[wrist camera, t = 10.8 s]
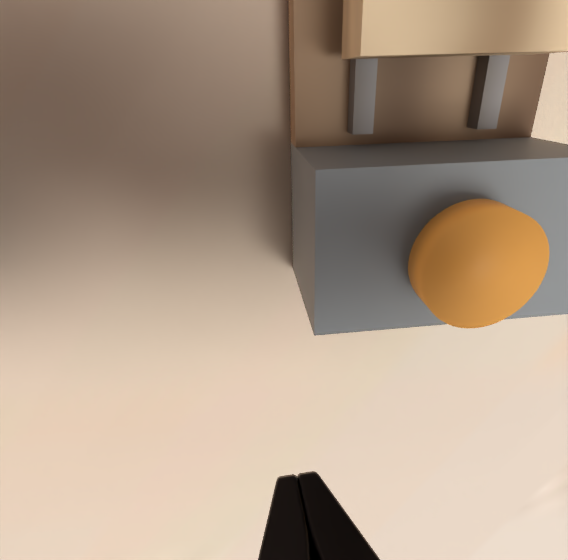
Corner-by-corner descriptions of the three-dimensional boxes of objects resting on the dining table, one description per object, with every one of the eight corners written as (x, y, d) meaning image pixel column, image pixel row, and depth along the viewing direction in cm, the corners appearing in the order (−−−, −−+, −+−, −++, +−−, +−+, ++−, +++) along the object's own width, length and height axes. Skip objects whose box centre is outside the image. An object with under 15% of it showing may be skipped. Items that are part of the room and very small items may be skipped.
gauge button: (375, 277, 17) (415, 333, 13) (383, 180, 15) (432, 213, 12) (467, 270, 17) (531, 323, 14) (485, 175, 16) (564, 205, 12)
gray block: (293, 268, 21) (314, 335, 15) (290, 142, 18) (315, 169, 13) (494, 254, 21) (581, 312, 16) (520, 132, 19) (635, 154, 13)
